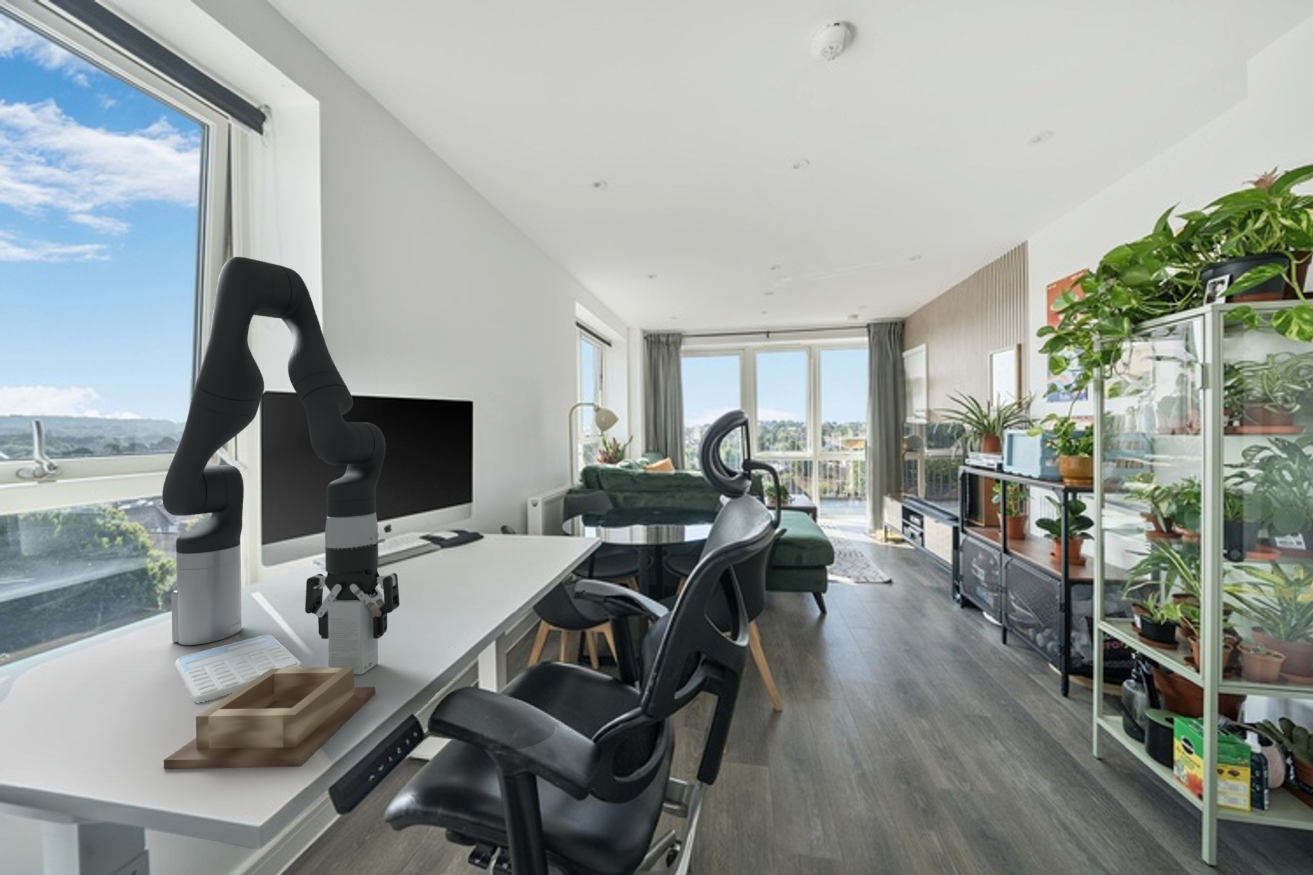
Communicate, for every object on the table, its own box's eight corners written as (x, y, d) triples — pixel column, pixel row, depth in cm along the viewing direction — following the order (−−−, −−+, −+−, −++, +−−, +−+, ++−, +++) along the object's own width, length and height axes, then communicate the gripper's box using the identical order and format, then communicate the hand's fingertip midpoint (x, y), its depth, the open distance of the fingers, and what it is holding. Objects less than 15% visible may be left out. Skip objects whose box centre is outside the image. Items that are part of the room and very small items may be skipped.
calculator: (195, 708, 71) (195, 695, 71) (173, 667, 83) (173, 656, 83) (304, 672, 81) (303, 661, 81) (270, 640, 94) (270, 631, 94)
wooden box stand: (163, 768, 58) (163, 726, 58) (268, 694, 74) (268, 662, 74) (300, 765, 58) (300, 724, 58) (375, 693, 74) (375, 660, 74)
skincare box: (379, 663, 84) (378, 593, 83) (361, 675, 79) (360, 602, 79) (346, 661, 84) (345, 592, 84) (327, 673, 80) (326, 601, 80)
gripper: (292, 546, 78) (294, 647, 78) (383, 545, 78) (384, 646, 78) (324, 536, 85) (325, 628, 85) (406, 535, 85) (407, 627, 86)
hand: (353, 636), depth 82 cm, fingers open, 8 cm apart
